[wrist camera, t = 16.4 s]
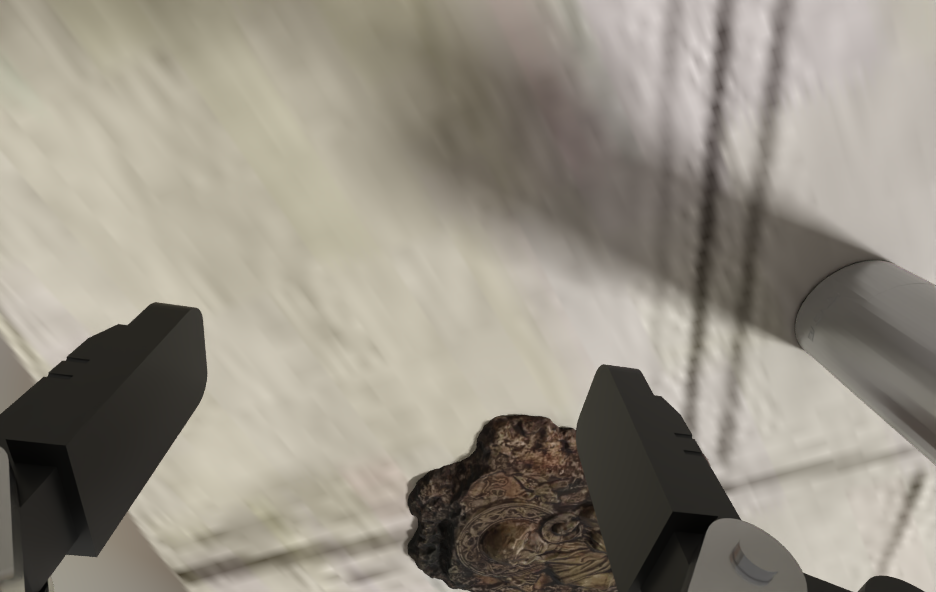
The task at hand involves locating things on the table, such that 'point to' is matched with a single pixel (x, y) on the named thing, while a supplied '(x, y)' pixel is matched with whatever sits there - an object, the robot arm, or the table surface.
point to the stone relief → (512, 515)
